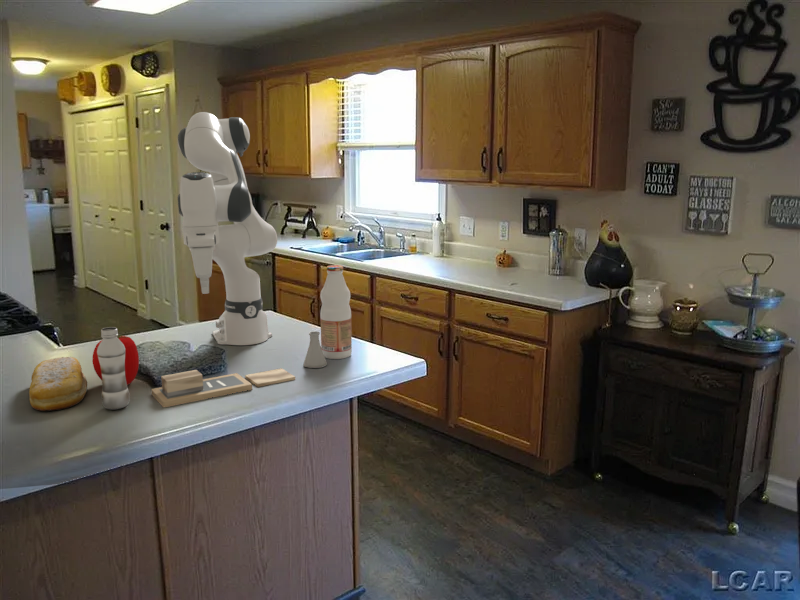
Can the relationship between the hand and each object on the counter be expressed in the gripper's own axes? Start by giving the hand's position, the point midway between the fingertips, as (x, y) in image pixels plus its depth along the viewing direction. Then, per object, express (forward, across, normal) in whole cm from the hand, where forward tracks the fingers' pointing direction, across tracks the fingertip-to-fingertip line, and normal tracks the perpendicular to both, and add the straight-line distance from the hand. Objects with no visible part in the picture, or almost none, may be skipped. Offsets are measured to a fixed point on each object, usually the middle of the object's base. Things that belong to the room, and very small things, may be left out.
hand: (205, 290), depth 171 cm
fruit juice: (+27, -20, +37) cm, 50 cm away
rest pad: (+27, -4, +15) cm, 31 cm away
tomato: (+26, -9, -25) cm, 37 cm away
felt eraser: (+25, +4, -8) cm, 26 cm away
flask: (+27, -12, +29) cm, 41 cm away
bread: (+26, -6, -38) cm, 47 cm away
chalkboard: (+26, +3, -3) cm, 27 cm away
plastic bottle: (+26, +8, -23) cm, 36 cm away
